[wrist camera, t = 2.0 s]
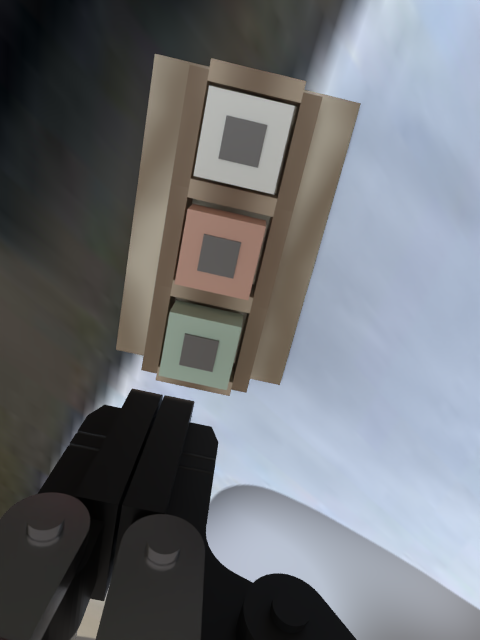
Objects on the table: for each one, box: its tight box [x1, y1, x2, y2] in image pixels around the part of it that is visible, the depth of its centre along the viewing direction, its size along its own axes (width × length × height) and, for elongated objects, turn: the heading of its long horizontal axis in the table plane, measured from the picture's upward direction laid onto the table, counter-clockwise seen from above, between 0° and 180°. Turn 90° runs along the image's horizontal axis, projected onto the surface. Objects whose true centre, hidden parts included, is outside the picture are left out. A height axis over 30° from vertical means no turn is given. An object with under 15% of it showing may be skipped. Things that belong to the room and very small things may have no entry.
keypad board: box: [116, 54, 361, 396], centre depth 33 cm, size 14×22×4 cm, turn 168°
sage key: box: [159, 300, 243, 390], centre depth 33 cm, size 5×5×3 cm
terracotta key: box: [175, 204, 266, 300], centre depth 30 cm, size 5×5×3 cm
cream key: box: [193, 86, 295, 194], centre depth 28 cm, size 5×5×3 cm
